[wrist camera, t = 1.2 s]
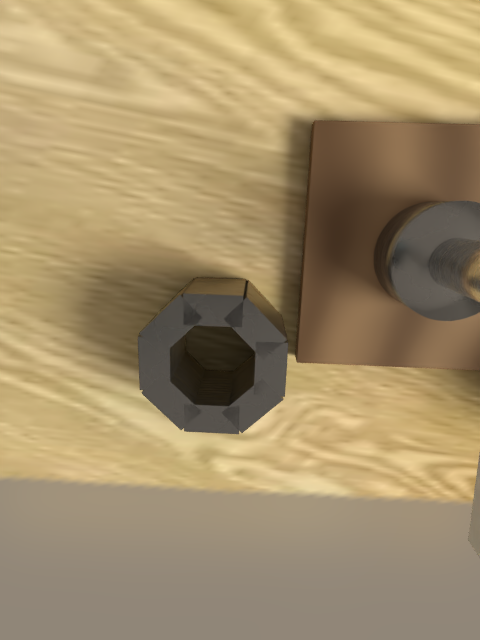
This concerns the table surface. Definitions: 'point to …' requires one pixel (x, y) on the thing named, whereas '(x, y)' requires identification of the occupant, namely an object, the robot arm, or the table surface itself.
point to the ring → (212, 385)
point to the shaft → (432, 259)
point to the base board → (361, 237)
